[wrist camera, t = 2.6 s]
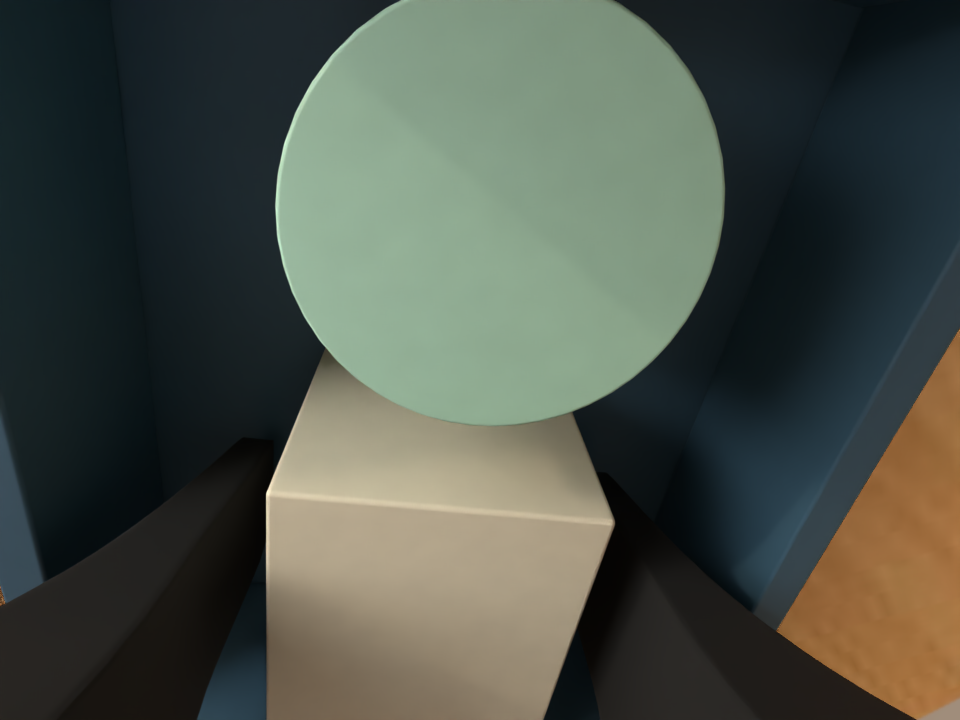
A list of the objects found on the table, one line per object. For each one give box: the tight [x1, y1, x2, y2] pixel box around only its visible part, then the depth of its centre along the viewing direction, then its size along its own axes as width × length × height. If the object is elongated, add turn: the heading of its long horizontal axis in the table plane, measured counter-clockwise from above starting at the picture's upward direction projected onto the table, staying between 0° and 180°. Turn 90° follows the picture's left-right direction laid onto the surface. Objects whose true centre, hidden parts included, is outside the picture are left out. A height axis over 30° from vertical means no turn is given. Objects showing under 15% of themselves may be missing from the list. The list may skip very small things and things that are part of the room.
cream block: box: [266, 348, 615, 720], centre depth 11 cm, size 5×6×4 cm
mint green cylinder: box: [275, 0, 725, 426], centre depth 8 cm, size 4×4×5 cm
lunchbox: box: [0, 0, 960, 720], centre depth 10 cm, size 15×13×4 cm
